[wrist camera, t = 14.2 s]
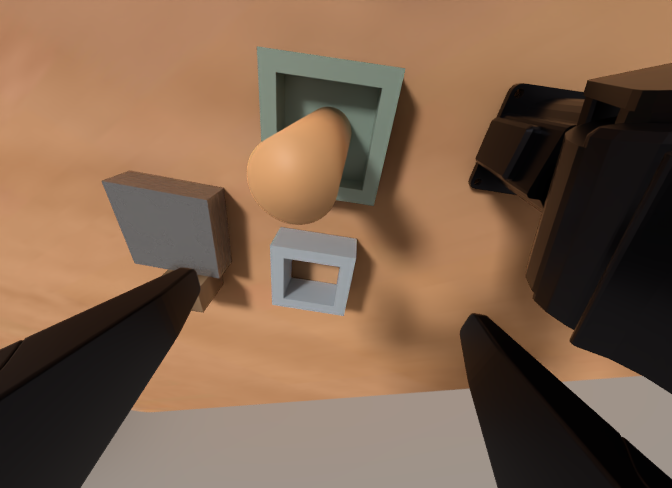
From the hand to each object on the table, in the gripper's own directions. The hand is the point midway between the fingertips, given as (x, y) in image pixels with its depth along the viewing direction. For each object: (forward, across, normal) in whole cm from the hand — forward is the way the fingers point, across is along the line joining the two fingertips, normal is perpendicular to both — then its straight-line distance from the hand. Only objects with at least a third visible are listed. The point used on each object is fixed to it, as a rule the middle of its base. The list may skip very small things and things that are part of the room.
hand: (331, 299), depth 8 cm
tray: (+13, +2, -3) cm, 13 cm away
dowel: (+12, +2, -3) cm, 13 cm away
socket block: (+13, +2, +9) cm, 16 cm away
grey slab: (+13, +14, +6) cm, 21 cm away
